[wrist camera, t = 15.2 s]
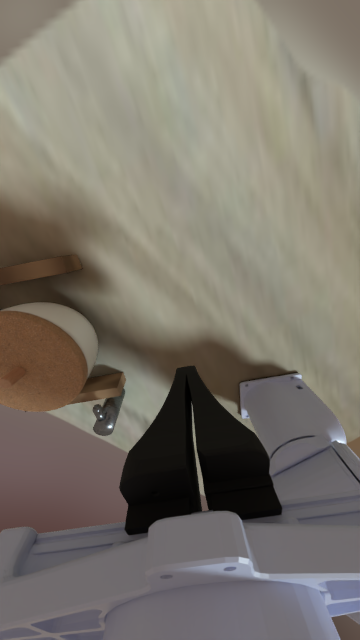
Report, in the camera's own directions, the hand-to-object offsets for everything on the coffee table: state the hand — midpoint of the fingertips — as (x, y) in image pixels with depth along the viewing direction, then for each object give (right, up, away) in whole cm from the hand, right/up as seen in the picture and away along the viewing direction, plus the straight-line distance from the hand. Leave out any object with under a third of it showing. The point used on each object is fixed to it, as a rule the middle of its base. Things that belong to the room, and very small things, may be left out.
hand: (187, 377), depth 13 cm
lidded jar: (-15, +3, +10) cm, 18 cm away
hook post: (-11, -6, +13) cm, 18 cm away
